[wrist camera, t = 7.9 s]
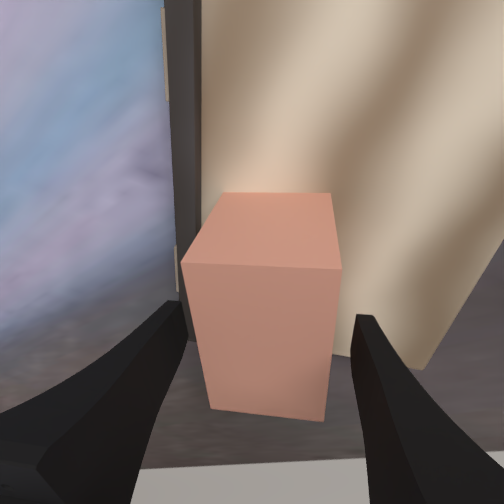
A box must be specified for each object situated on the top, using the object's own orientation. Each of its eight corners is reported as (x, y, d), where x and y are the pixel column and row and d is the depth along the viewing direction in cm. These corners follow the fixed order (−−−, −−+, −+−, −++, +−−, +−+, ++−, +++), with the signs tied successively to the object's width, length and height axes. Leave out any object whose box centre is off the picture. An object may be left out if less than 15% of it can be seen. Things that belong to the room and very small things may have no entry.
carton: (330, 193, 14) (342, 269, 9) (319, 321, 18) (323, 421, 14) (219, 192, 15) (174, 262, 10) (233, 315, 19) (206, 408, 14)
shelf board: (659, -81, 10) (756, -118, 8) (416, 350, 21) (428, 384, 18) (177, -114, 11) (145, -153, 9) (189, 310, 22) (176, 338, 20)
